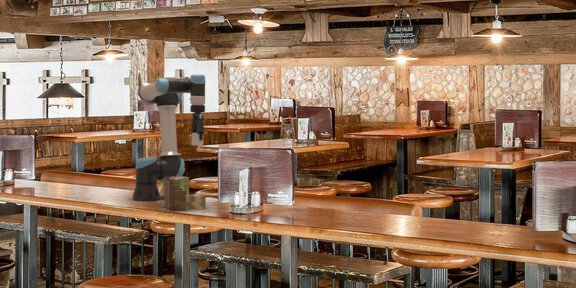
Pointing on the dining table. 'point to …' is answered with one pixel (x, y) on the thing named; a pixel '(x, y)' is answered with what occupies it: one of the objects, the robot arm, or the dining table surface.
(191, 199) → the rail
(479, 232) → the dining table surface
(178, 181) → the tea box
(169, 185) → the brown box
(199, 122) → the robot arm
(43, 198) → the dining table surface
